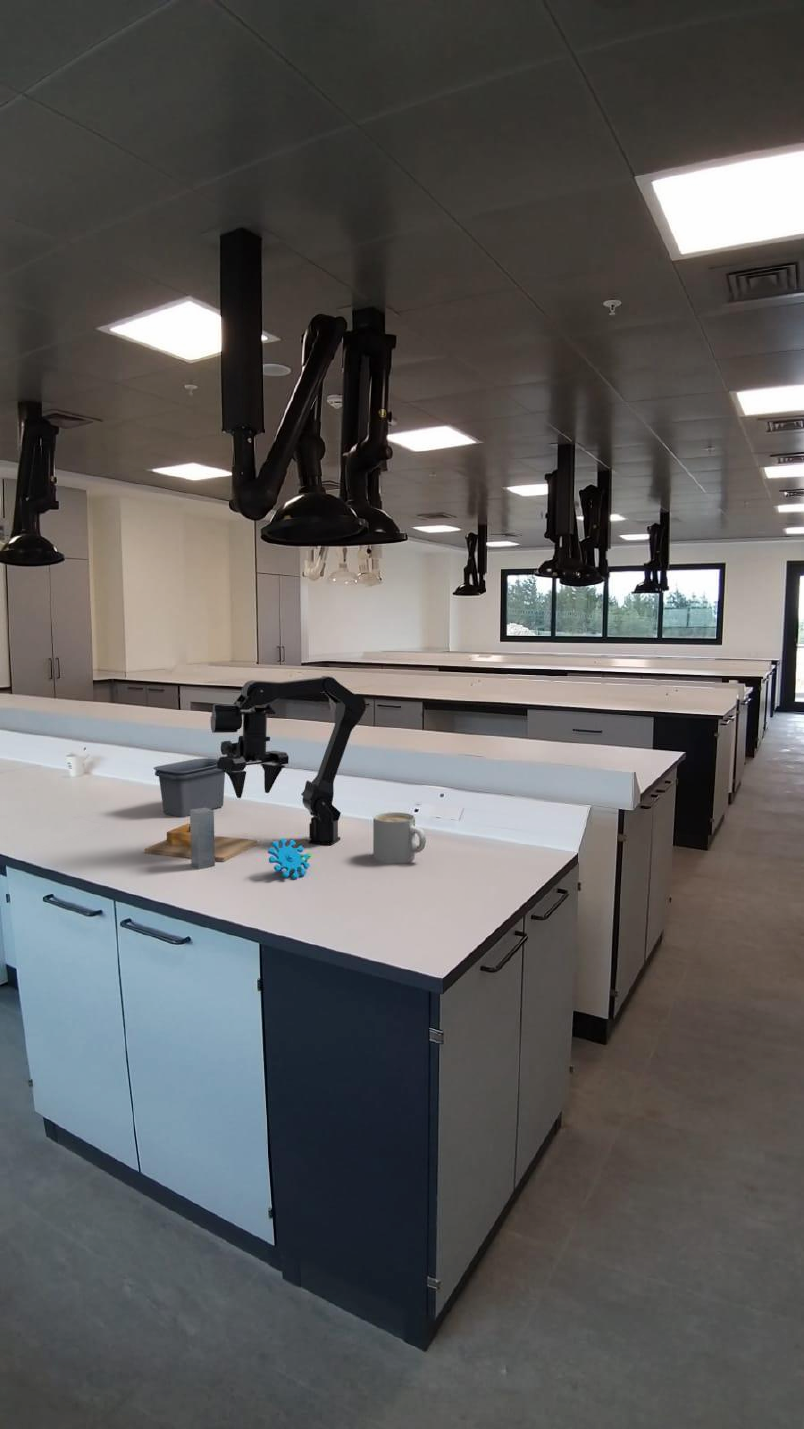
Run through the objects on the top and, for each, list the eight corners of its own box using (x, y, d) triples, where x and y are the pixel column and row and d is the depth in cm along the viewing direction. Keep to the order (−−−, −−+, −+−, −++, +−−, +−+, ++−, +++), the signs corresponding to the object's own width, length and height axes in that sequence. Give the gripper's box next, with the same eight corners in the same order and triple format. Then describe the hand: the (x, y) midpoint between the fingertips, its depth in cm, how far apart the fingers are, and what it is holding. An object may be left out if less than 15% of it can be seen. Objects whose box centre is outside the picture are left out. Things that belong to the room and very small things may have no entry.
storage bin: (180, 821, 215) (179, 771, 213) (145, 813, 223) (143, 766, 222) (235, 807, 233) (234, 761, 231) (200, 800, 241) (199, 756, 240)
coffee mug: (364, 857, 181) (364, 816, 180) (393, 849, 188) (393, 810, 187) (405, 869, 172) (405, 826, 171) (434, 860, 179) (434, 819, 178)
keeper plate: (257, 844, 192) (257, 828, 191) (223, 861, 177) (223, 845, 176) (183, 836, 199) (182, 821, 198) (144, 852, 184) (144, 836, 183)
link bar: (207, 861, 177) (206, 807, 175) (214, 866, 174) (213, 810, 172) (191, 865, 174) (189, 809, 173) (198, 869, 171) (197, 813, 170)
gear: (278, 877, 161) (264, 837, 166) (266, 891, 164) (253, 852, 169) (320, 874, 168) (307, 835, 173) (308, 887, 171) (295, 849, 177)
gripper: (259, 726, 196) (258, 785, 198) (202, 731, 181) (201, 795, 183) (290, 730, 190) (289, 792, 191) (233, 736, 175) (232, 802, 176)
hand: (253, 795), depth 185 cm, fingers open, 9 cm apart
